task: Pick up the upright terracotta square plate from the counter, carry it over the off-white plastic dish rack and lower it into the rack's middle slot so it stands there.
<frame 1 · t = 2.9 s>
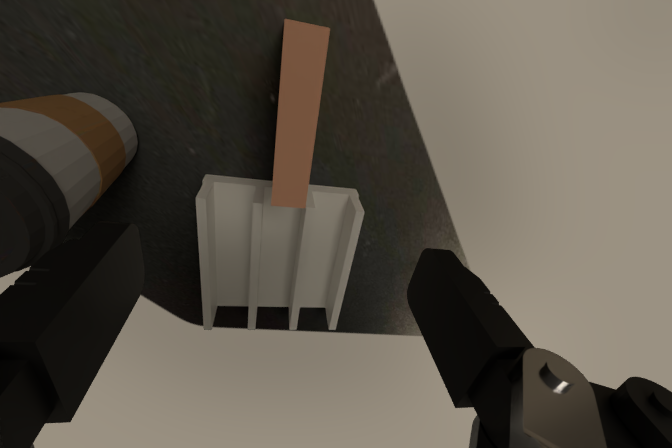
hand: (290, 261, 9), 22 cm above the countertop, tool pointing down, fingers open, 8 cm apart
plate: (292, 98, 27), on the countertop
coffee cup: (100, 130, 27), on the countertop
dish rack: (278, 246, 35), on the countertop
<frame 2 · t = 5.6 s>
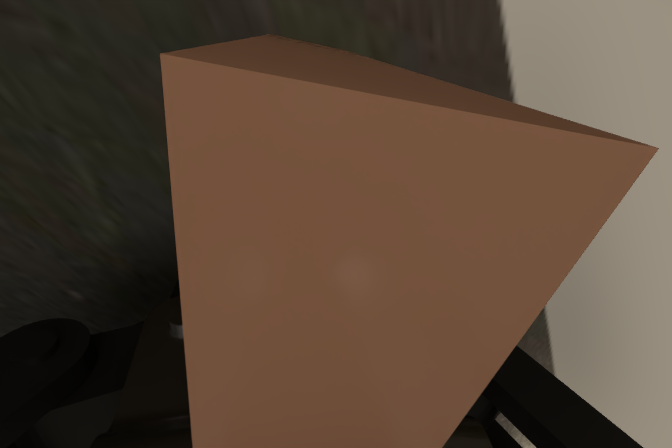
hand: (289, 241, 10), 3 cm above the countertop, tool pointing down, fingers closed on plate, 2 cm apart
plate: (289, 197, 13), on the countertop, touching gripper
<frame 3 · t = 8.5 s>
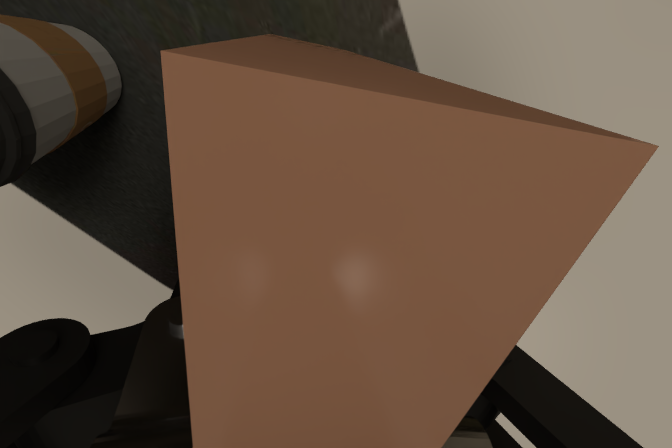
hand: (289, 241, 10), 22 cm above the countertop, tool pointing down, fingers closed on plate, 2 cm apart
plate: (289, 197, 13), point 19 cm above the countertop, touching gripper
coffee cup: (80, 71, 25), on the countertop
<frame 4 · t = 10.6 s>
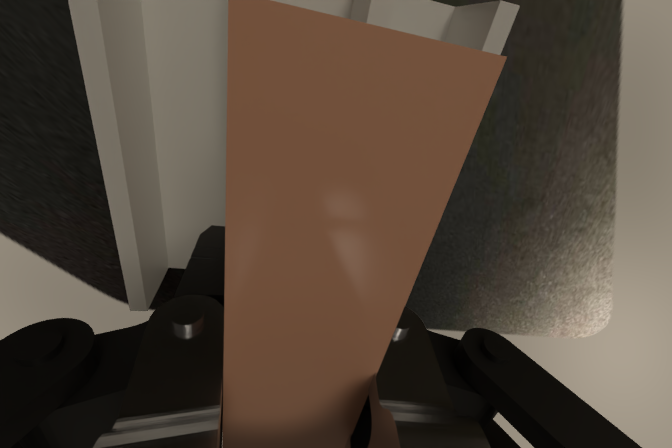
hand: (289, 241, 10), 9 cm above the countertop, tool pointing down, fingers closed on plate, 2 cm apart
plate: (289, 175, 14), point 5 cm above the countertop, touching gripper
dish rack: (289, 148, 18), on the countertop
when the fingers open (6 cm above the countertop, at t = 11.7 s): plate stays where it is, resting on dish rack.
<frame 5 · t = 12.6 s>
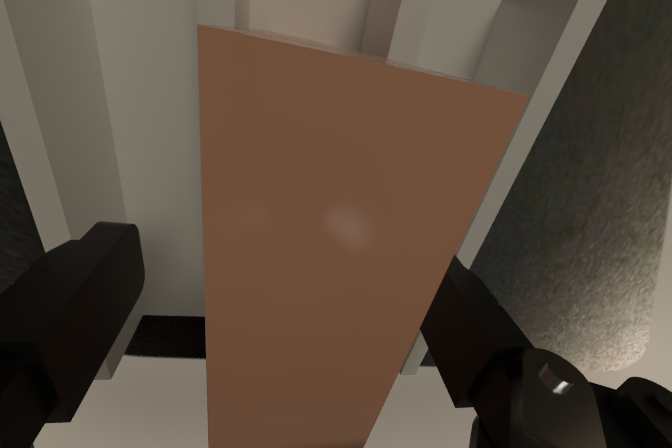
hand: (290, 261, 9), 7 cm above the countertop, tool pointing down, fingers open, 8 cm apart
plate: (286, 185, 13), point 1 cm above the countertop, touching dish rack
dish rack: (288, 174, 15), on the countertop
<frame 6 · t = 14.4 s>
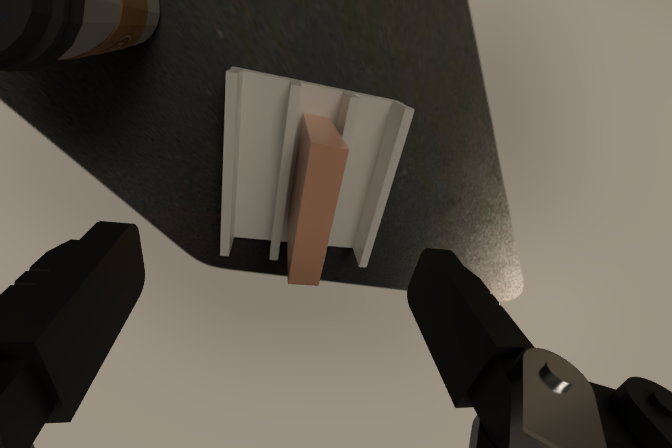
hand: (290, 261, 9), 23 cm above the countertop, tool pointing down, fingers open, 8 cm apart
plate: (306, 173, 30), point 1 cm above the countertop, touching dish rack
dish rack: (306, 168, 32), on the countertop
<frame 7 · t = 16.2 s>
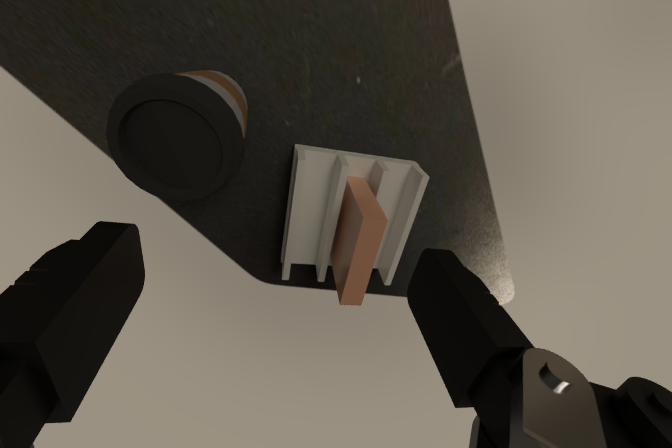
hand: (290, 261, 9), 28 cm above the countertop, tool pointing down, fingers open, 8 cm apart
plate: (345, 216, 40), point 1 cm above the countertop, touching dish rack
coffee cup: (216, 103, 32), on the countertop
dish rack: (344, 211, 41), on the countertop
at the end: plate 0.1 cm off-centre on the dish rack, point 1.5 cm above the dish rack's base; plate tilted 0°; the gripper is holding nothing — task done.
